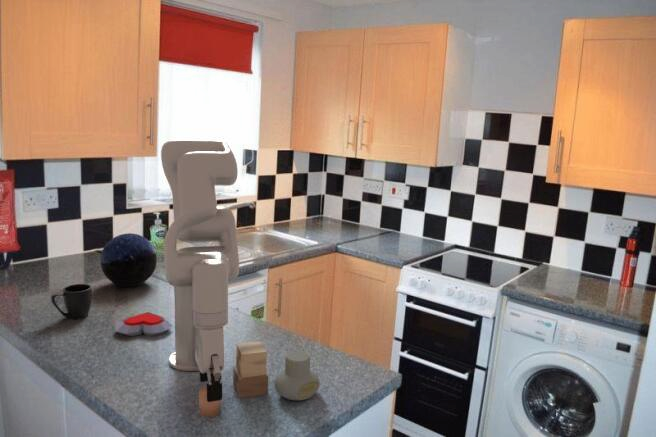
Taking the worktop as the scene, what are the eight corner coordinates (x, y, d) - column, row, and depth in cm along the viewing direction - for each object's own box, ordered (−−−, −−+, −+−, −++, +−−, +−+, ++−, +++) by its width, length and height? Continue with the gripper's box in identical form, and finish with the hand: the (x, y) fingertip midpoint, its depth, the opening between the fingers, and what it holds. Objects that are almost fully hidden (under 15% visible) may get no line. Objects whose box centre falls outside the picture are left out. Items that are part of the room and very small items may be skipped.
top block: (236, 366, 131) (236, 344, 130) (259, 363, 133) (260, 341, 132) (241, 378, 126) (241, 354, 125) (266, 374, 128) (266, 351, 127)
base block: (233, 384, 132) (233, 366, 131) (260, 380, 135) (260, 362, 134) (239, 399, 126) (239, 379, 125) (267, 394, 129) (268, 375, 128)
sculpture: (121, 320, 169) (110, 340, 154) (121, 309, 168) (109, 328, 154) (176, 319, 172) (170, 338, 157) (176, 308, 171) (169, 326, 156)
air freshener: (302, 380, 136) (304, 344, 134) (324, 394, 130) (326, 356, 128) (268, 394, 128) (269, 356, 126) (289, 409, 122) (291, 369, 120)
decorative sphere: (130, 274, 215) (129, 226, 211) (168, 283, 206) (167, 233, 203) (89, 287, 197) (87, 235, 193) (129, 297, 189) (127, 243, 185)
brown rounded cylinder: (197, 407, 121) (197, 387, 120) (218, 404, 123) (218, 384, 122) (200, 418, 117) (200, 398, 116) (222, 415, 119) (222, 395, 118)
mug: (47, 318, 167) (45, 289, 165) (86, 309, 176) (84, 282, 174) (57, 326, 162) (56, 296, 160) (97, 316, 170) (95, 288, 169)
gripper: (187, 305, 122) (188, 376, 124) (198, 332, 106) (199, 412, 109) (220, 303, 125) (220, 371, 127) (236, 328, 109) (235, 406, 111)
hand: (210, 390), depth 118 cm, fingers open, 9 cm apart
